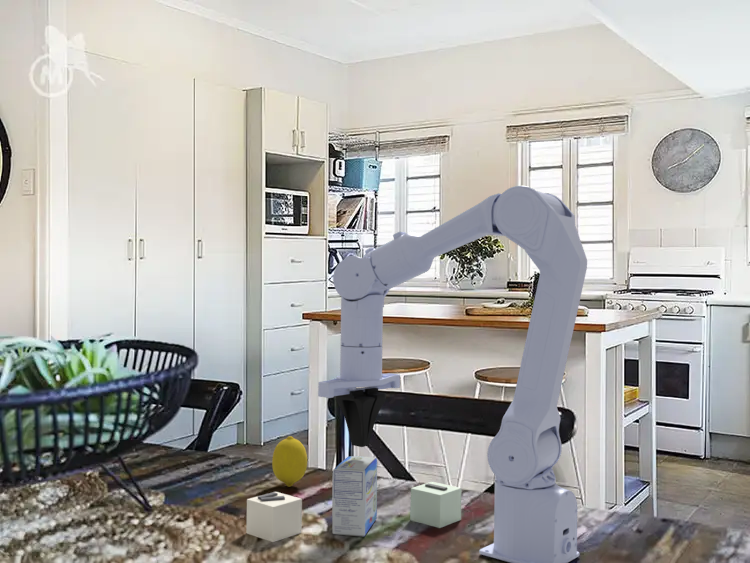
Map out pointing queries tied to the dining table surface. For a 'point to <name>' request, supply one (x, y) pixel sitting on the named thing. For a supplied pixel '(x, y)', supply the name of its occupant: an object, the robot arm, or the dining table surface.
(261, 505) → the cream digit block
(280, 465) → the lemon
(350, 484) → the medicine box
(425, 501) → the sage digit block
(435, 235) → the robot arm
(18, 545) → the dining table surface
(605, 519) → the dining table surface
